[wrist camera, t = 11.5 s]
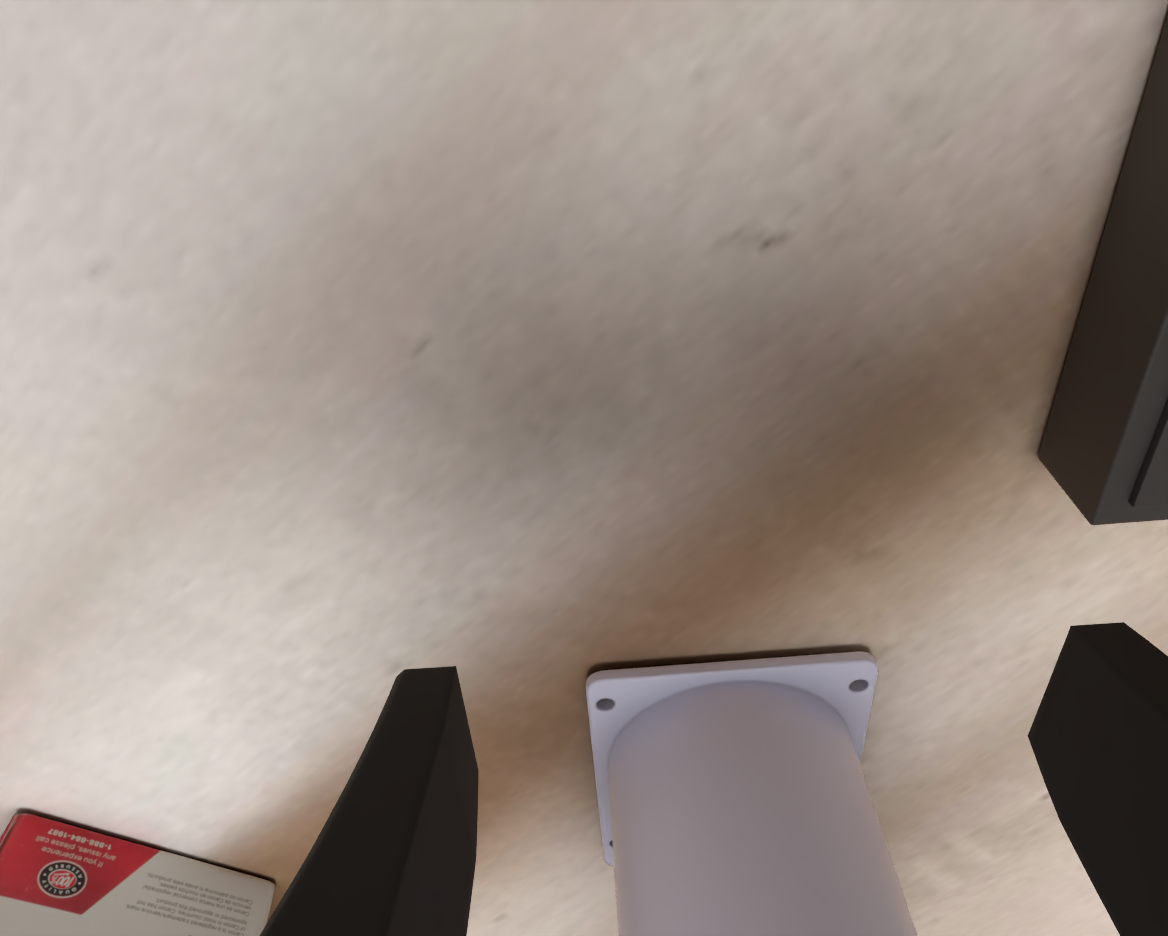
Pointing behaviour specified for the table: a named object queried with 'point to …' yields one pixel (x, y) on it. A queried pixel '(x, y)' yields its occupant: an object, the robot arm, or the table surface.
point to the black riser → (1122, 343)
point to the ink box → (117, 887)
